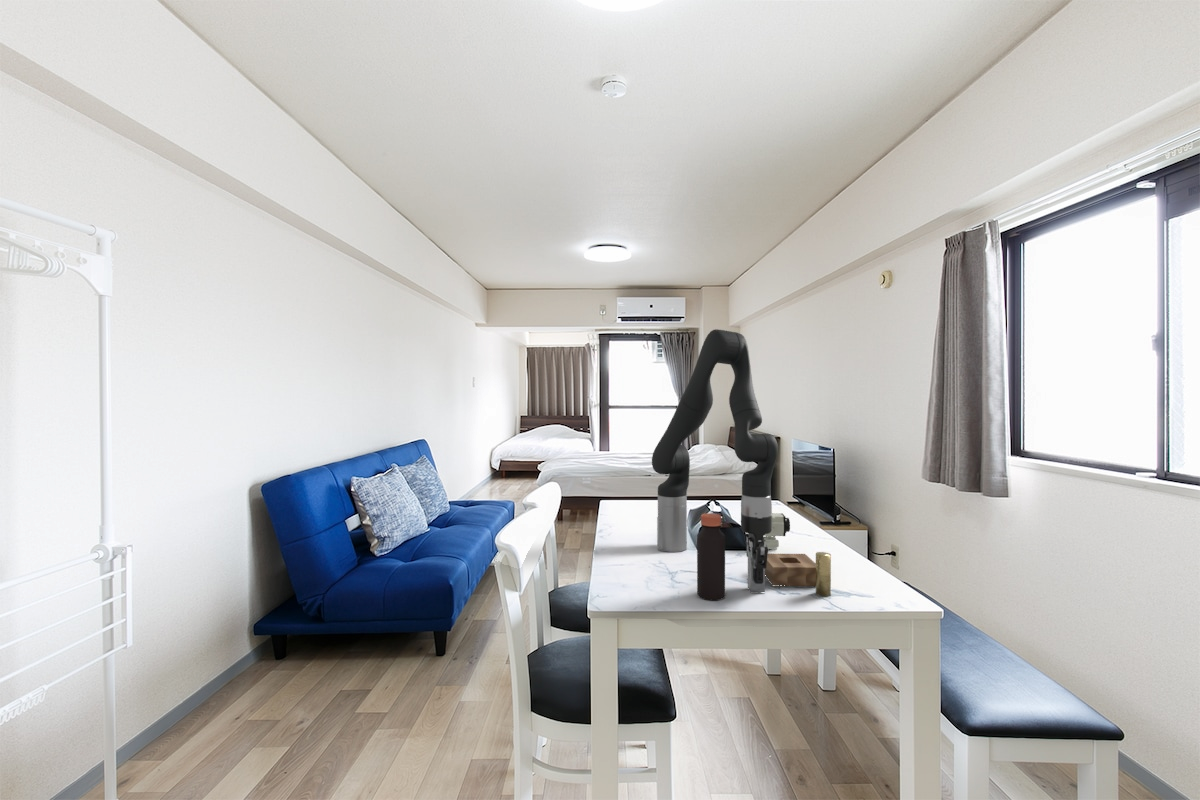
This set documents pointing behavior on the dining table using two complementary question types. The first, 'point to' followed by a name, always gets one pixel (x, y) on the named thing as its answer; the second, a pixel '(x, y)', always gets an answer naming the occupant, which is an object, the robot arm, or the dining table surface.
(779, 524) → the pneumatic valve
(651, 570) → the dining table surface
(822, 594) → the cylinder
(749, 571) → the square bit
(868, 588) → the dining table surface
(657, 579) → the dining table surface
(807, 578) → the socket block
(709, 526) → the bottle
